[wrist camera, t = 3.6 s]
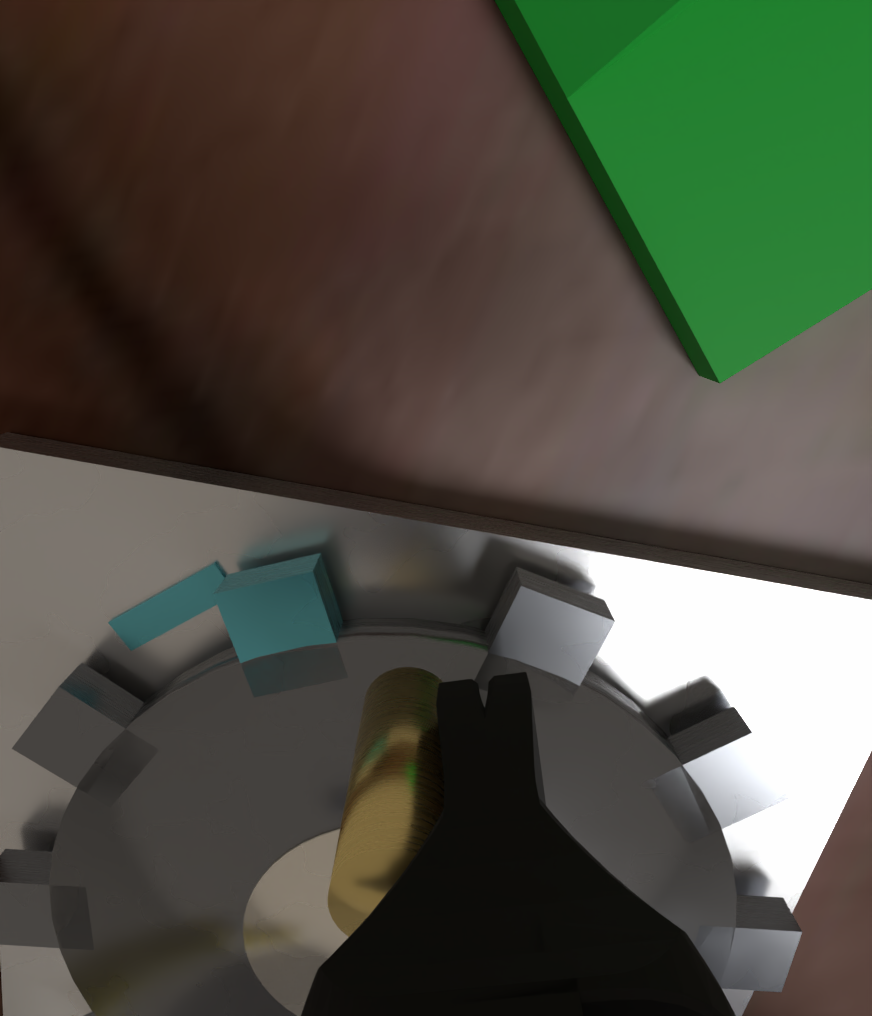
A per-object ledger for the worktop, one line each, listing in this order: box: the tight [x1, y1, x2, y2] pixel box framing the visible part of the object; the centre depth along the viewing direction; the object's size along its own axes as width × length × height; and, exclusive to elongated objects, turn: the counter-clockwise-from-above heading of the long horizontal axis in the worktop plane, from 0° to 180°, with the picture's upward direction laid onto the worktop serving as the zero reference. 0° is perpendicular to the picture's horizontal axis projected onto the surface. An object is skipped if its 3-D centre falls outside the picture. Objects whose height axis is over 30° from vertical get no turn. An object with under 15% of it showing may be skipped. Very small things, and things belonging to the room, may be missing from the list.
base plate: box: [0, 432, 872, 1016], centre depth 17 cm, size 20×20×1 cm
